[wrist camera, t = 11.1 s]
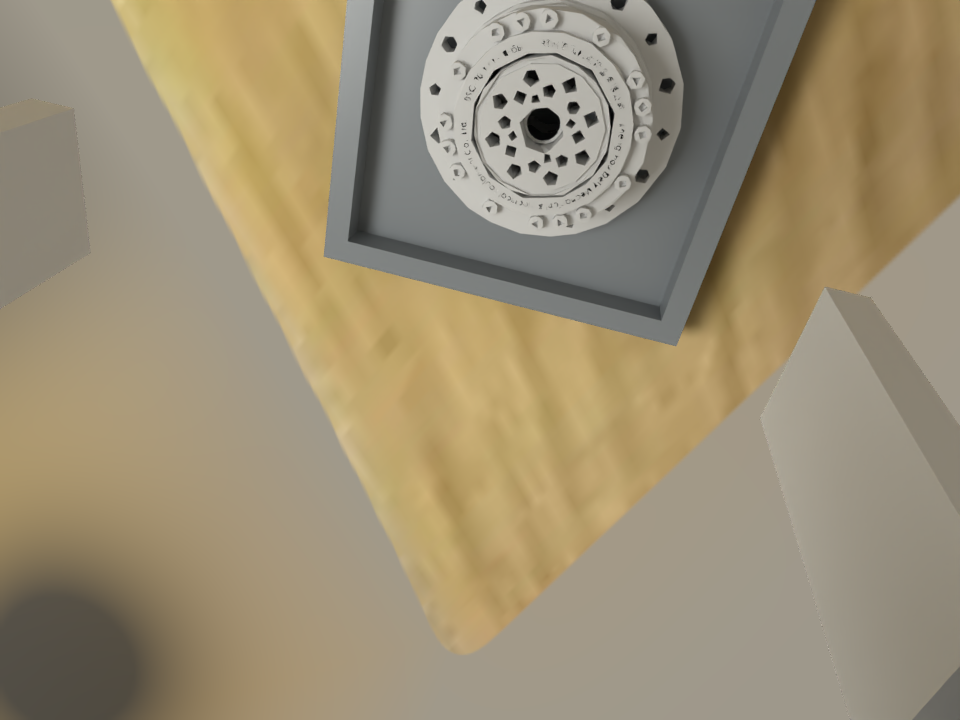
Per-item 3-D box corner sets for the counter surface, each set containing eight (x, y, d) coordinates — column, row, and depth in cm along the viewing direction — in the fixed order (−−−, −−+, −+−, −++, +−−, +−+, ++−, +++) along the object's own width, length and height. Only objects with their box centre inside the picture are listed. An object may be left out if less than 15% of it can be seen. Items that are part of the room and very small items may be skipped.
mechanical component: (693, 202, 30) (665, -73, 25) (704, 240, 26) (675, -75, 21) (461, 242, 32) (397, -1, 27) (441, 283, 28) (364, 9, 24)
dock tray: (381, -179, 25) (364, -187, 23) (829, -73, 25) (845, -74, 23) (338, 240, 34) (323, 256, 32) (673, 325, 33) (676, 346, 31)
